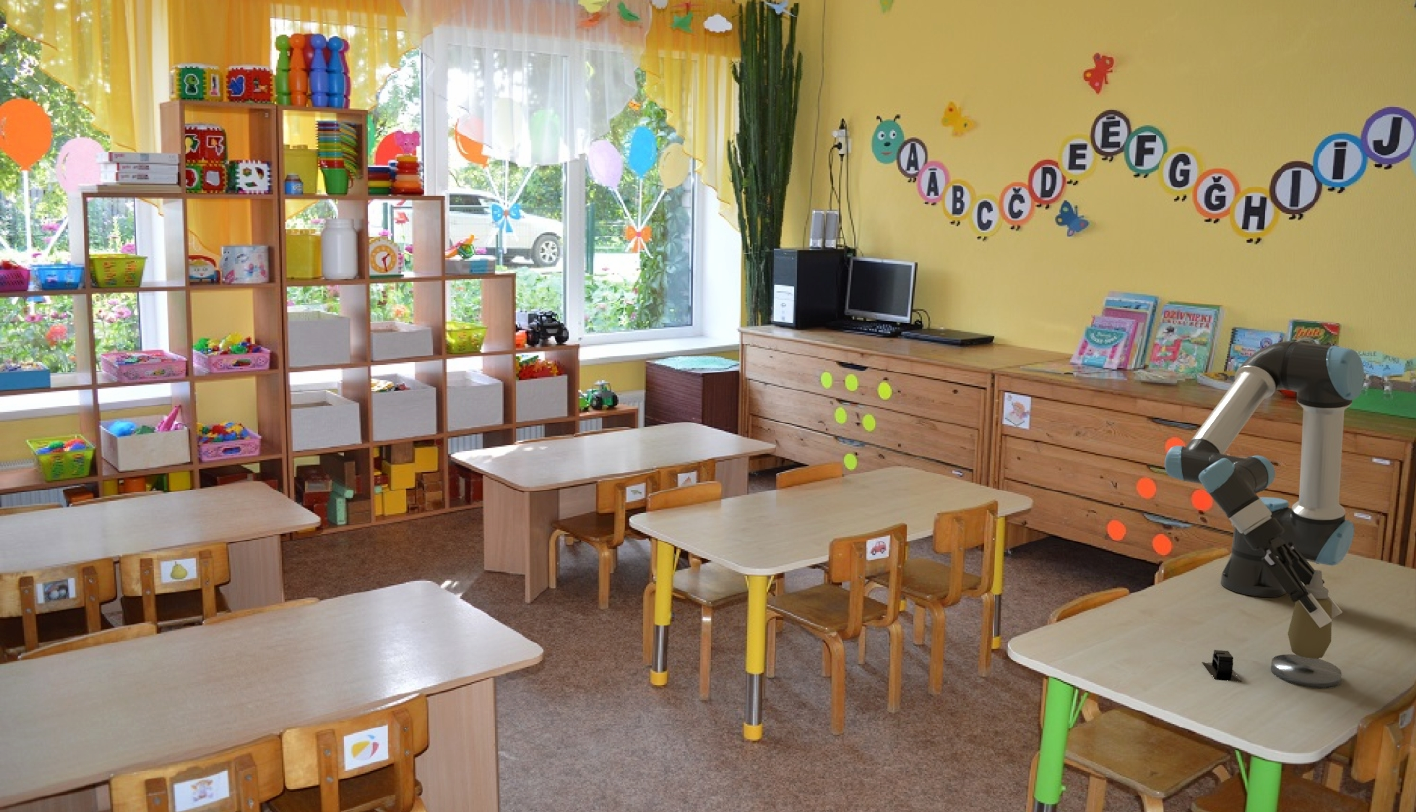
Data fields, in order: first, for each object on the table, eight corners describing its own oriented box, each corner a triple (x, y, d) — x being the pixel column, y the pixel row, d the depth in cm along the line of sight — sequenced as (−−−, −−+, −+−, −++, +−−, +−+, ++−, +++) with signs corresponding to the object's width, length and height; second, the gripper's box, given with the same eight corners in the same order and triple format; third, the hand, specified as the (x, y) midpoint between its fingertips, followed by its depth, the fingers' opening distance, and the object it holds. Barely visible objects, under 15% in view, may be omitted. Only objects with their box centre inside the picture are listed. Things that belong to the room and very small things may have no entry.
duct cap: (1289, 658, 260) (1291, 649, 259) (1351, 679, 250) (1353, 670, 249) (1258, 672, 252) (1260, 662, 251) (1321, 693, 242) (1322, 684, 241)
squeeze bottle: (1319, 648, 253) (1330, 566, 250) (1335, 663, 245) (1347, 578, 242) (1279, 645, 254) (1290, 563, 251) (1294, 660, 246) (1305, 575, 243)
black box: (1195, 661, 258) (1197, 641, 257) (1231, 664, 257) (1233, 643, 256) (1212, 685, 246) (1214, 663, 245) (1249, 687, 245) (1251, 666, 244)
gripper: (1258, 526, 263) (1329, 617, 255) (1226, 544, 249) (1301, 641, 241) (1287, 508, 258) (1360, 600, 251) (1256, 524, 244) (1333, 622, 237)
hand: (1331, 619), depth 246 cm, fingers closed on squeeze bottle, 6 cm apart
